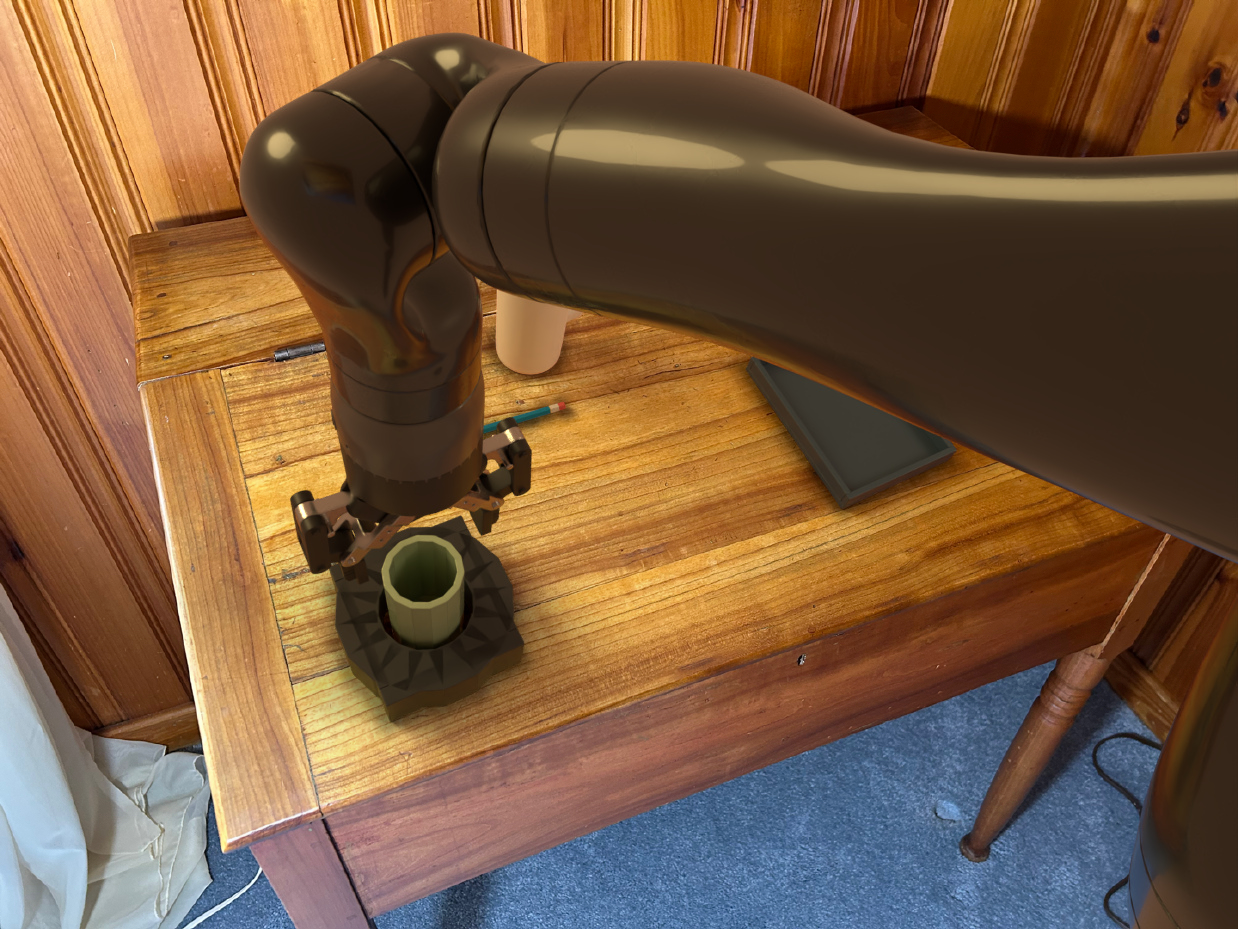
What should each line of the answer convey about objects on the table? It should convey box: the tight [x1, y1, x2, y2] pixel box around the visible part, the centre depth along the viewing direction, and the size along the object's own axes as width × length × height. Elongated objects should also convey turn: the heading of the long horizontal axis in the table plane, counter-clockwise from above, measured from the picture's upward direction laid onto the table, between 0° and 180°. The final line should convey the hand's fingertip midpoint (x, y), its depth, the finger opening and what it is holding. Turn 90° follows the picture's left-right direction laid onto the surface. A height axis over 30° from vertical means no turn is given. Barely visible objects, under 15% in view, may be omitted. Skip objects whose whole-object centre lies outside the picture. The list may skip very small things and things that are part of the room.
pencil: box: [483, 401, 567, 435], centre depth 83 cm, size 1×17×1 cm, turn 116°
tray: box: [745, 356, 958, 510], centre depth 90 cm, size 17×13×2 cm
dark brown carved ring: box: [328, 515, 525, 723], centre depth 72 cm, size 13×13×4 cm
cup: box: [382, 535, 465, 650], centre depth 70 cm, size 6×6×11 cm
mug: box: [495, 289, 584, 375], centre depth 85 cm, size 10×7×12 cm, turn 121°
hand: (421, 546), depth 61 cm, fingers open, 8 cm apart
